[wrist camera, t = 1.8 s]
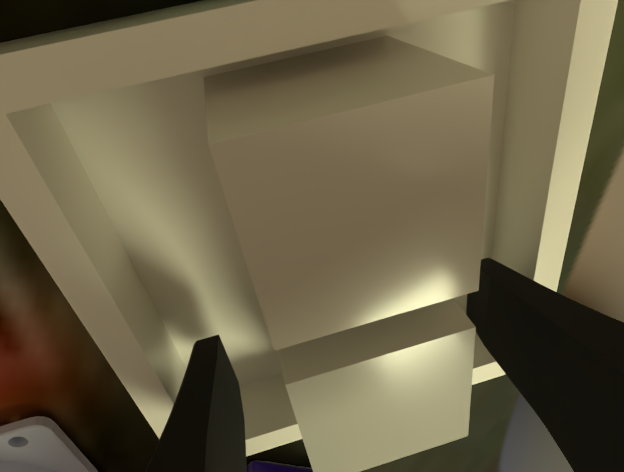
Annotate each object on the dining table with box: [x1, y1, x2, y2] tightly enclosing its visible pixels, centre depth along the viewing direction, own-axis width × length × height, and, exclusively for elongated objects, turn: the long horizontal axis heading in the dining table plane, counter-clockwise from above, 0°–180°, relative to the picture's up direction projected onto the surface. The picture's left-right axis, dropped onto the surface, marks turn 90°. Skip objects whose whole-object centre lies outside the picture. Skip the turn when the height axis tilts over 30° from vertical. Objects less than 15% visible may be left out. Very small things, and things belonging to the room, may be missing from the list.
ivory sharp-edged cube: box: [203, 36, 494, 351], centre depth 8 cm, size 4×4×4 cm
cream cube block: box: [278, 298, 476, 472], centre depth 11 cm, size 4×4×4 cm
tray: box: [0, 0, 618, 457], centre depth 11 cm, size 12×12×2 cm
